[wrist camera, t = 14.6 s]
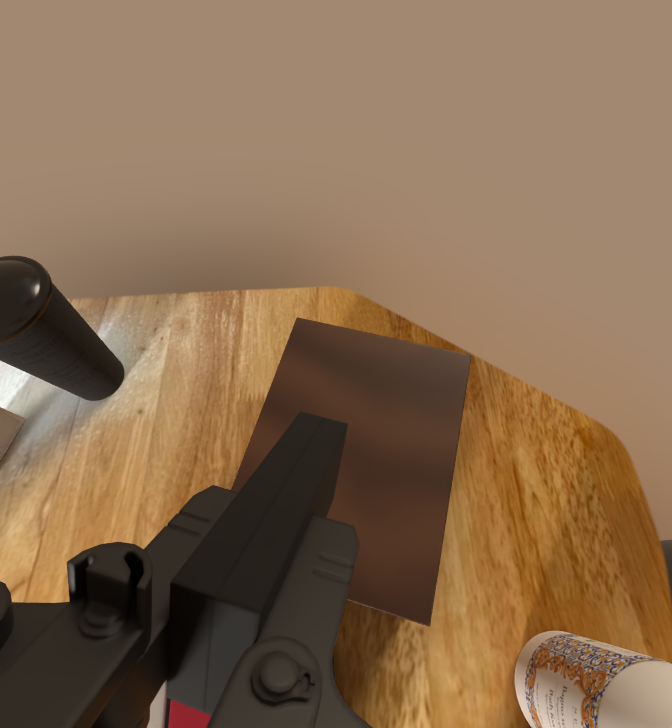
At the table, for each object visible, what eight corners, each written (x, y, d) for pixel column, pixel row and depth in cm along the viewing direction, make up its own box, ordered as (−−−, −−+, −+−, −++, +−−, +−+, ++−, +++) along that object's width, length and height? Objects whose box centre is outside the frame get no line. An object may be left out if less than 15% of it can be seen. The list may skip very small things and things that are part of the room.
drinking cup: (117, 422, 39) (-87, 296, 21) (46, 405, 40) (-204, 273, 22) (151, 352, 42) (0, 192, 24) (85, 338, 43) (-106, 176, 25)
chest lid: (298, 322, 31) (296, 316, 31) (468, 360, 29) (471, 354, 29) (210, 554, 24) (206, 554, 24) (427, 625, 22) (430, 626, 22)
